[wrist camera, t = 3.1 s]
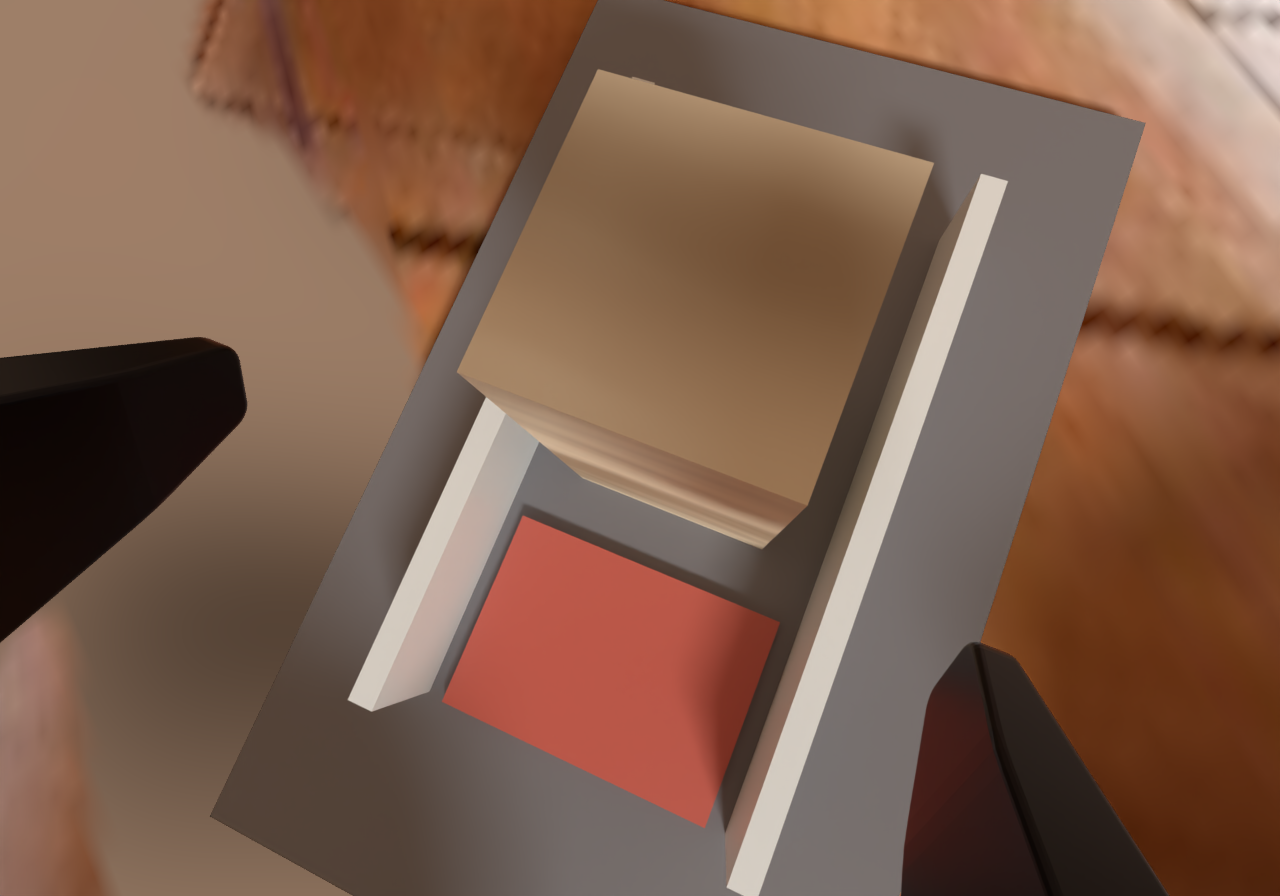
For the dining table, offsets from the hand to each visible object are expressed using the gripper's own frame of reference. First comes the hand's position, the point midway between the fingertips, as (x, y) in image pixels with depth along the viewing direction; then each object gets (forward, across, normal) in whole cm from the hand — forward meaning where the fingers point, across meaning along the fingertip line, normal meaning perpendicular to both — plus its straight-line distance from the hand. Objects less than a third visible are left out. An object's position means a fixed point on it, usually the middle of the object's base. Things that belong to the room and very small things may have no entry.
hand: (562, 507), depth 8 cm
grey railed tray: (+10, 0, +6) cm, 11 cm away
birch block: (+10, 0, +4) cm, 11 cm away
